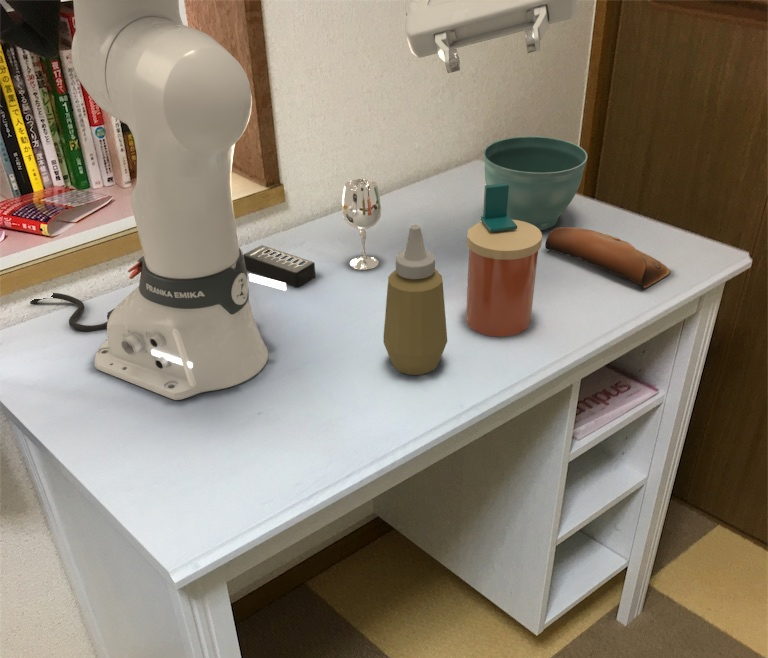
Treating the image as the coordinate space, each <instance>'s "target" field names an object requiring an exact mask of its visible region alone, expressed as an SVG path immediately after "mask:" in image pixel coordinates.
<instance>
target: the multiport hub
mask: <svg viewBox="0 0 768 658" xmlns="http://www.w3.org/2000/svg"><path fill="white" fill-rule="evenodd" d="M243 255H244V260H245V265H246V271H248V272H251V273H252V274H255V275H258V276H261V277H265V278H269V279H272V280H276V281H280V282H284V283H286V286H289V287H290V286H291V287H293V288H296V289H297V288H300V287H302V286H305V285H306V284H307V283H309V282H311V281H312V280H314V279H315V278H316V276H317V275H316V265H315V262H314V261H312V260H309V259H306V258H303V257H300V256H297V255H294V254H290V253H287V252H285V251H282V250H279V249H276V248H273V247H270V246H266V245H263V244H262V245H259V246H257V247H255V248H253V249H250V250H249V251H248V252H247V251H246V253H243Z"/></svg>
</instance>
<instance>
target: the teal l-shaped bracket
mask: <svg viewBox="0 0 768 658" xmlns="http://www.w3.org/2000/svg"><path fill="white" fill-rule="evenodd" d="M508 192H509V185H508V184H507V183H503V184H495V185H487V186H486V185H484V194H483V209H482V212H483V213H482V216H480V222H483V223H484V225H485V226H486V227H487V229H488V230H489V231H490V232H496V231H503V230H511V229H517V225H516V224H515V223H514V221H513V220H512V219H511V218H510V217H509V215H508V214H507V205H508Z"/></svg>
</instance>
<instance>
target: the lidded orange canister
mask: <svg viewBox="0 0 768 658" xmlns="http://www.w3.org/2000/svg"><path fill="white" fill-rule="evenodd" d="M538 257H539V250H538V251H537V252H536V253H534V254H533V255H530V256H528V257H524V258H520V259H512V260H500V259H492V258H487V257H483V256H481V255H478V254H476V253H474V252H473V251H472V250H470V248H469V247H468V265H467V266H468V268H467V286H466V289H467V290H466V309H465V322H466V324H467V326H468V327H469V328H470V329H471V330H472V331H474V332H476V333H478V334H480V335H484V336H488V337H495V338H496V337H499V338H500V337H504V338H505V337H512V336H515V335H518V334H521V333H523V332H525V331H526V330H527V329H529V327H530V325H531V321H532V314H533V313H532V312H533V304H534V303H533V302H534V294H535V283H536V275H537V265H538Z"/></svg>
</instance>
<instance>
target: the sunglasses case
mask: <svg viewBox="0 0 768 658" xmlns="http://www.w3.org/2000/svg"><path fill="white" fill-rule="evenodd" d="M544 244H545V245H544V247H545V249H546V250H548V251H554V252H556V253H559V254H563V255H568V256H570V257H572V258H577V259H580V260H581V261H584V262H586V263H589V264H590V265H593V266H595V267H599V268H602V269H604V270H606V271H608V272H610V273H612V274H615V275H618V276H620V277H623V278H624V279H627V280H630V281H632V282H633V283H636V284H638V285H640V286H641V287H642V288H643V289H647V288H650V287H652V286H654V285H656V284H657V283H658V282H661V281H662V280H663V279H665V278H666V277H668V276H669V275H670V274H671V269H669V268H668V267H667V266H666V265H665V264H664V263H663V262H662V261H660V260H658V259H656V258H655V257H653V256H651V255H649V254H647V253H645V252H642V251H641V250H639V249H636V247H635V246H634V245H632V244H631V243H630V242H628V241H625V240H622V239H620V238H619V237H615V236H612V235H610V234H607V233H606V234H605V233H603V232H600V231H596V230H593V229H589V228H581V227H572V226H571V227H568V226H564V227H563V226H562V227H555V228H554V229H552V230H551V231H550V232H549V234H548V235H547V236H546V240H545V243H544Z"/></svg>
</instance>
